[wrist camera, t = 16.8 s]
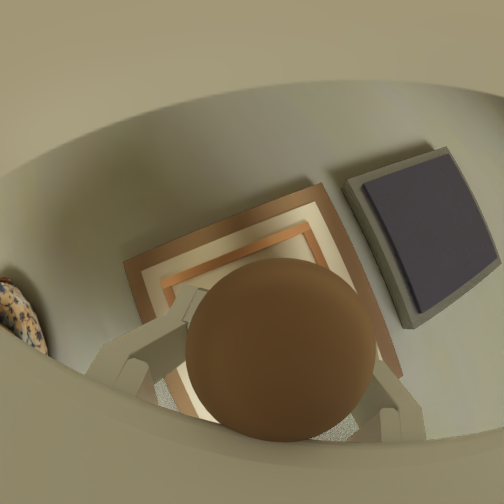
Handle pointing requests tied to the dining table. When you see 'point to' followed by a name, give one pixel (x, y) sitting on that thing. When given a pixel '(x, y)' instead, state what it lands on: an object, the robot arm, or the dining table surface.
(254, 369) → the stamp
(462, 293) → the ink pad
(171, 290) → the board
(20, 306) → the plate of salad
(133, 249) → the dining table surface
